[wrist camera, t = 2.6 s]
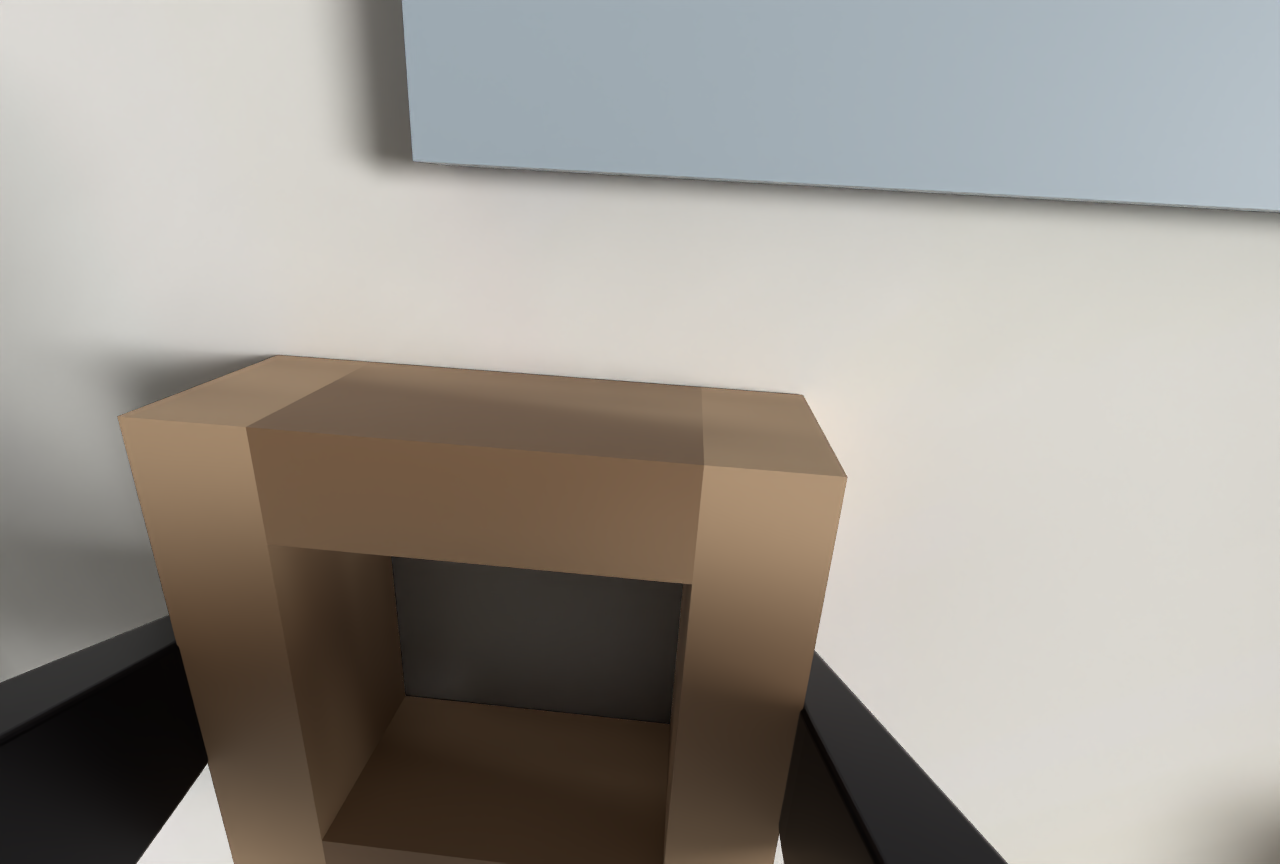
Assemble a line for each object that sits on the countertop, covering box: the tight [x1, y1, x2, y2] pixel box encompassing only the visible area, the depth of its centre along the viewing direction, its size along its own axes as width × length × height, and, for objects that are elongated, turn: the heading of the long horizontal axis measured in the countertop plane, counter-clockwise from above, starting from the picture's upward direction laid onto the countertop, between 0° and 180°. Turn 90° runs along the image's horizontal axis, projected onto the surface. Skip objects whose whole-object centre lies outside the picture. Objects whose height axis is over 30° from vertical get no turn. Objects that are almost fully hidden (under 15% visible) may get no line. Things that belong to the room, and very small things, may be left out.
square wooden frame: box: [117, 355, 847, 864], centre depth 8 cm, size 7×7×2 cm
